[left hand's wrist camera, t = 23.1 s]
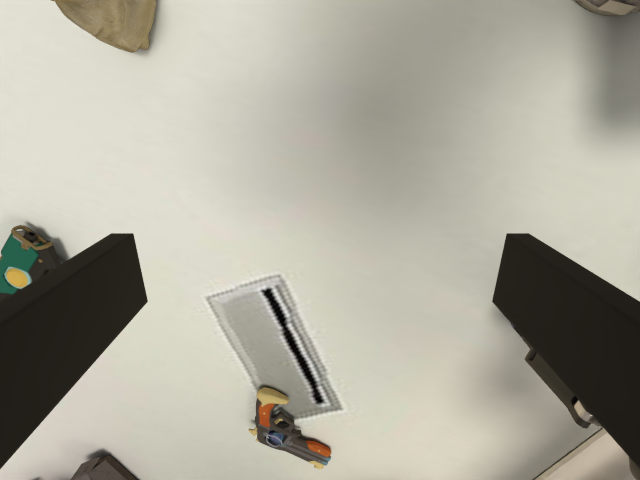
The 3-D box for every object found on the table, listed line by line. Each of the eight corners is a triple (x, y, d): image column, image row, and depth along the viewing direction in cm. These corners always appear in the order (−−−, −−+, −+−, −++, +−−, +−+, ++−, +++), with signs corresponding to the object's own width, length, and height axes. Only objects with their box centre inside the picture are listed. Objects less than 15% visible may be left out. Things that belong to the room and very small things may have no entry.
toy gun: (262, 392, 54) (227, 436, 55) (355, 437, 59) (321, 475, 61) (262, 380, 56) (229, 422, 58) (352, 424, 61) (319, 461, 63)
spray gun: (43, 344, 54) (-35, 270, 50) (117, 299, 50) (39, 214, 46) (19, 363, 50) (-67, 284, 46) (97, 316, 46) (10, 224, 42)
